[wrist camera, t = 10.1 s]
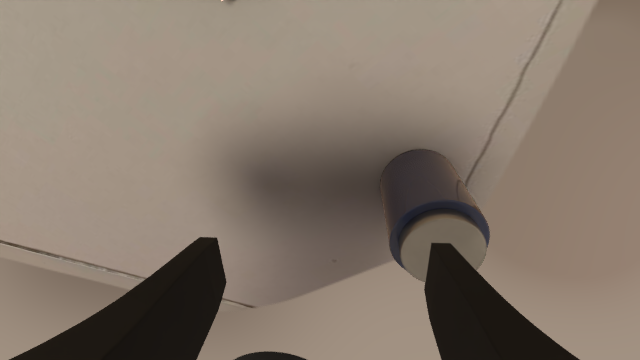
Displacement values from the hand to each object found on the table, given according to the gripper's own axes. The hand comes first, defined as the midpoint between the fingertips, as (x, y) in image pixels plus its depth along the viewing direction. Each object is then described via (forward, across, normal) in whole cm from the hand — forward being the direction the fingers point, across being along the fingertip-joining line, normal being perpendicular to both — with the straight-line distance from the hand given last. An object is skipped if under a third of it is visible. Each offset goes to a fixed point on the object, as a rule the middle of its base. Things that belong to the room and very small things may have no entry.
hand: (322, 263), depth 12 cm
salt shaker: (+9, -5, +2) cm, 11 cm away
